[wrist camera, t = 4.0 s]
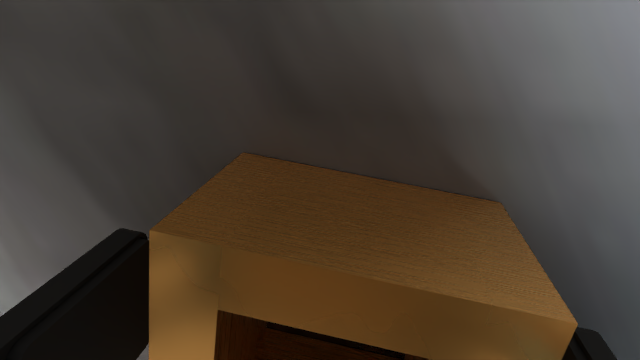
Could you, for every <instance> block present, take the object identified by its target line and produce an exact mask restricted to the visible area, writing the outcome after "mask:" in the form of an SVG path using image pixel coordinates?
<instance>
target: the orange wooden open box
mask: <svg viewBox="0 0 640 360" xmlns="http://www.w3.org/2000/svg"><path fill="white" fill-rule="evenodd" d="M268 321H269V322H273V323H277V324H282V325H286V326H290V327H294V328H299V329H303V330H307V331H312V332H316V333H320V334H324V335H329V336H333V337H337V338H342V339H346V340H350V341H354V342H359V343H363V344H367V345H371V346H376V347H380V348H384V349H389V350H393V351H397V352H401V353H405V356H404V360H562V358H563V356H564V353H565V351H566V349H567V347H568V345H569V343H570V340H571V338H572V336H573V334H574V332H575V329H576V327H577V325H578V323H577V322H576V320H575V318H574V317H573V315H572V314H571V312H570V311H569V309H568V307H567V306H566V304H565V303H564V301H563V300H562V298H561V296H560V295H559V293H558V292H557V290H556V289H555V287H554V285H553V284H552V282H551V281H550V279H549V278H548V276H547V274H546V273H545V271H544V270H543V268H542V267H541V265H540V263H539V262H538V260H537V259H536V257H535V256H534V254H533V252H532V251H531V249H530V248H529V246H528V245H527V243H526V241H525V240H524V238H523V237H522V235H521V234H520V232H519V230H518V229H517V227H516V226H515V224H514V223H513V221H512V219H511V218H510V216H509V215H508V213H507V212H506V210H505V208H504V207H503V205H502V204H501V203H500V202H495V201H490V200H484V199H479V198H474V197H469V196H464V195H459V194H454V193H449V192H443V191H438V190H433V189H428V188H423V187H418V186H413V185H408V184H402V183H397V182H392V181H387V180H382V179H377V178H372V177H367V176H361V175H356V174H351V173H346V172H341V171H336V170H331V169H326V168H320V167H315V166H310V165H305V164H300V163H295V162H290V161H285V160H279V159H274V158H269V157H264V156H259V155H254V154H249V153H244V152H243V153H242V154H241V155H239V156H238V157H237V158H236V159H235V160H233V161H232V162H231V163H230V164H229V165H227V166H226V167H225V168H224V169H223V170H221V171H220V172H219V173H218V174H217V175H215V176H214V177H213V178H212V179H210V180H209V181H208V182H207V183H206V184H204V185H203V186H202V187H201V188H200V189H198V190H197V191H196V192H195V193H194V194H192V195H191V196H190V197H189V198H188V199H186V200H185V201H184V202H183V203H182V204H180V205H179V206H178V207H177V208H176V209H174V210H173V211H172V212H171V213H170V214H168V215H167V216H166V217H165V218H164V219H162V220H161V221H160V222H159V223H158V224H156V225H155V226H154V227H153V228H152V229H150V230H149V360H401V359H397V358H393V357H389V356H384V355H380V354H376V353H372V352H367V351H363V350H359V349H355V348H350V347H346V346H342V345H338V344H333V343H329V342H325V341H321V340H316V339H312V338H308V337H304V336H299V335H295V334H291V333H287V332H282V331H278V330H274V329H270V328H267V323H268Z"/></svg>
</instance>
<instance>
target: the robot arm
mask: <svg viewBox="0 0 640 360" xmlns="http://www.w3.org/2000/svg"><path fill="white" fill-rule="evenodd" d="M148 343H149V240H147V236H146V234H145V233H142V232H137V231H133V230H128V229H123V228H120V229H118V230H116V231H115V232H114V233H112V234H111V235H110V236H108V237H107V238H106V239H104V240H103V241H102V242H100V243H99V244H98V245H96V246H95V247H93V248H92V249H91V250H89V251H88V252H87V253H85V254H84V255H83V256H81V257H80V258H79V259H77V260H76V261H75V262H73V263H72V264H71V265H69V266H68V267H67V268H65V269H64V270H63V271H61V272H60V273H59V274H57V275H56V276H55V277H53V278H52V279H51V280H49V281H48V282H47V283H45V284H44V285H43V286H41V287H40V288H39V289H37V290H36V291H35V292H33V293H32V294H30V295H29V296H28V297H26V298H25V299H24V300H22V301H21V302H20V303H18V304H17V305H16V306H14V307H13V308H12V309H10V310H9V311H8V312H6V313H5V314H4V315H2V316H1V317H0V360H136V359H137V358H138V357H139V355H140V354H141V353H142V351H143V350H144V349H145V347H146V346H147V344H148ZM562 360H617V359H616V357H615V356H614V354H613V353H612V352H611V350H610V349H609V347H608V346H607V344H606V343H605V341H604V340H603V338H602V337H601V335H600V334H599V333H598V332H596V331H593V330H588V329H583V328H579V327H576V329H575V332H574V334H573V336H572V338H571V340H570V343H569V345H568V347H567V349H566V351H565V353H564V356H563V358H562Z"/></svg>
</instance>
